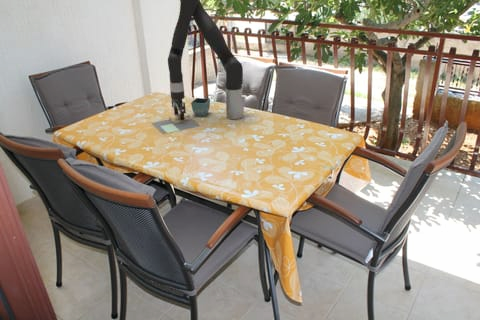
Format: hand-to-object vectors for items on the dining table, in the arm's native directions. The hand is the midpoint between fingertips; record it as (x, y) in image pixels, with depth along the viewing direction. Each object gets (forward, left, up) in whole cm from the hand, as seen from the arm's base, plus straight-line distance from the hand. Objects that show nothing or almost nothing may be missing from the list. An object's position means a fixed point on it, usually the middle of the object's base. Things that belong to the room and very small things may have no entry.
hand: (179, 117), depth 229 cm
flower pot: (-15, -2, -3) cm, 15 cm away
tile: (0, 0, -2) cm, 2 cm away
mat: (+4, +5, -2) cm, 7 cm away
